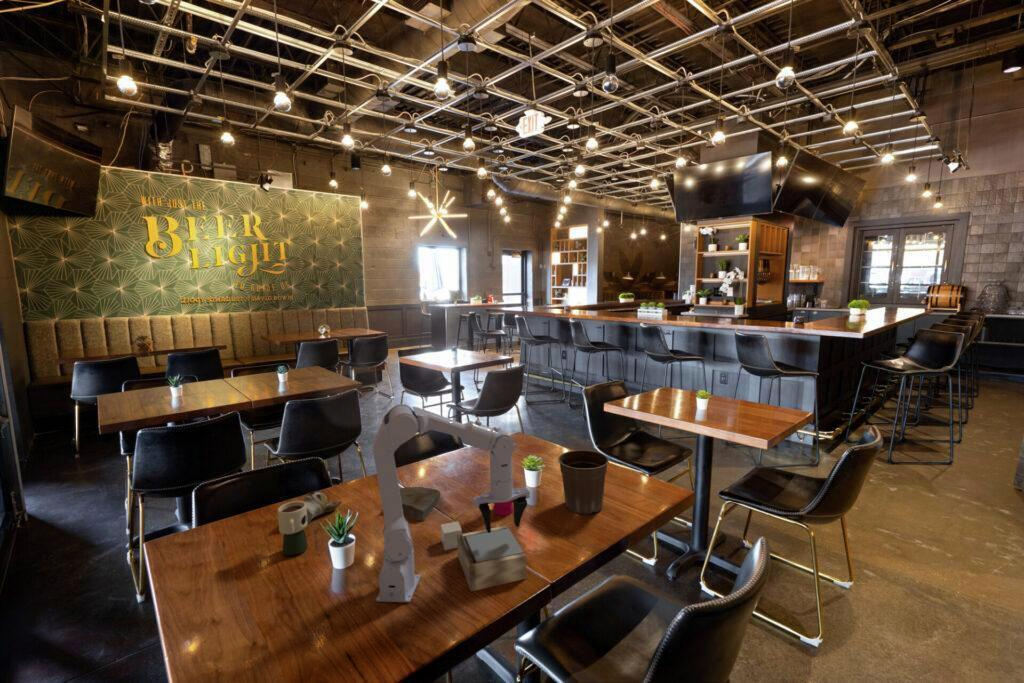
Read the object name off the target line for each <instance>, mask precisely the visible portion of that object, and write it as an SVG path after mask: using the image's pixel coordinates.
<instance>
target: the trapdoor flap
mask: <svg viewBox="0 0 1024 683" xmlns="http://www.w3.org/2000/svg"><path fill="white" fill-rule="evenodd" d="M466 542H467V544H468V546H469V549H470V551H471V554H472V556H471V557H472V559H473V562H474V564H476V563H481V562H485V561H490V560H494V559H499V558H504V557H508V556H513V555H518V554H522V553H524V551H523V549H522V547H521V545H520V544H519V542H518V541H517V539H516V538H515V536H514V534H513V532H512V531H511V530H510V528H509V527H508V529H502V530H497V531H492V532H491V533H488V532H487V533H482V534H477V535H472V536H467V537H466ZM524 554H525V553H524Z"/></svg>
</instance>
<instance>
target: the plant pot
mask: <svg viewBox="0 0 1024 683" xmlns="http://www.w3.org/2000/svg"><path fill="white" fill-rule="evenodd" d="M609 460H610V459H609V457H608V456H607V455H606V454H604V453H601V452H598V451H595V450H587V449H586V450H585V449H578V450H576V449H575V450H570V451H566V452H563V453H561V454H560V455H559V456H558V457H557V461H558V463H559V468H560V473H561V476H562V477H561V478H562V486H563V494H564V503H565V505H564V506H565V508H567V509H568V510H569V511H570V512H572V513H574V514H579V515H592V514H593V513H599V512H600V511H602V510H603V507H604V496H605V495H604V494H605V483H606V482H605V481H606V474H607V472H608V471H607V470H608V469H607V468H608V464H609V463H610V461H609Z"/></svg>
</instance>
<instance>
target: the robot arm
mask: <svg viewBox="0 0 1024 683" xmlns="http://www.w3.org/2000/svg"><path fill="white" fill-rule="evenodd" d="M430 430H431V431H436V432H439V433H443V434H446V435H451V436H453V437H454V436H455V437H458V438H460V441H461V442H462V444H463V445H467V446H470V447H473V448H475V449H476V448H477V449H480V450H483V451H486V452H488V451H489V478H490V480H489V481H490V482H489V483H490V484H489V486H490V491H488V492H486V493H483V494H481V495H477V496H473V506H474V508H478V509H479V511H480V514H481V515H482V518H483V521H484V524H485V526H484V527H485V530H487V532H488V533H491V528H492V527H491V516H492V515H491V514H492V510H491V509H490V506H489V505H491V504H494V503H497V502H508V501H511V500H513V503H512V505H513V523H514V525H515V527H516V528H519V527H520V524H521V520H522V516H523V514H524V512H525V510H526V508H527V507H528V501H527V499H531V496H530V494H531V493H530V492H531V491H530V490H529V488H528V487H524V488H514V484H513V483H514V482H513V481H514V480H513V479H514V478H513V477H514V476H513V473H514V472H513V454H514V452H515V451H516V444H515V441H514V439H513V438H512V436H511V435H510V434H509V433H507V432H506V431H505V430H504V429H501V427H496V426H493V427H490V426H487V425H484V424H482V422H481V421H480V420H477V419H476V420H474V421H472V420H471V421H470V420H469V421H468V422H465V423H462V422H459V421H456V420H454V419H452V418H448V417H445V416H443V415H440V414H438V413H435V412H433V411H429V410H426V409H423V408H421V407H418V406H412V407H411V406H410V405H407V404H404V403H400V404H396V405H394V406H393V407H391V408H390V409H389V410H388V411H387V412H386V413H385V414H384V415H383V419H382V421H381V424H380V426H379V427H378V430H377V433H376V434H375V437H374V439H373V441H372V453H373V460H374V467H375V471H376V476H377V477H376V478H377V484H378V488H379V494H380V495H379V496H380V502H381V506H382V514H383V519H384V526H383V528H382V534H383V540H384V548H383V550H382V568H381V570H380V573H379V575H378V586H379V587H378V588H379V593H378V595H377V596H376V598H375V601H376V602H378V603H379V602H380V603H381V602H384V603H410V602H411V600H412V598H413V596H414V593H415V592H416V591H415V590H416V589H417V586H418V583H419V581H420V578H421V575H420V574H416V572H415V571H416V570H415V552H414V542H413V539H412V537H411V533H410V532H411V531H410V524H409V522H408V520H407V519H406V517H405V516H404V514H403V508H402V502H401V496H400V486H399V484H400V483H399V480H398V479H399V477H398V472H397V467H396V466H397V465H396V460H395V452H396V451H397V450H398V448H400V446H402V445H403V444H405V443H406V442H407V441H409V440H411V439H412V438H413V437H415V436H416V434H417V433H418V434H419V435H423V434H424V433H427V432H428V431H430Z"/></svg>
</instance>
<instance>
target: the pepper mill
mask: <svg viewBox="0 0 1024 683" xmlns="http://www.w3.org/2000/svg"><path fill="white" fill-rule="evenodd" d="M493 513H494V514H495V515H498V516H501V517H502V516H508V515H509V516H510V515H511V514H512V513H514V505H513V500H511V501H508V502H497V503H493Z"/></svg>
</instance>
